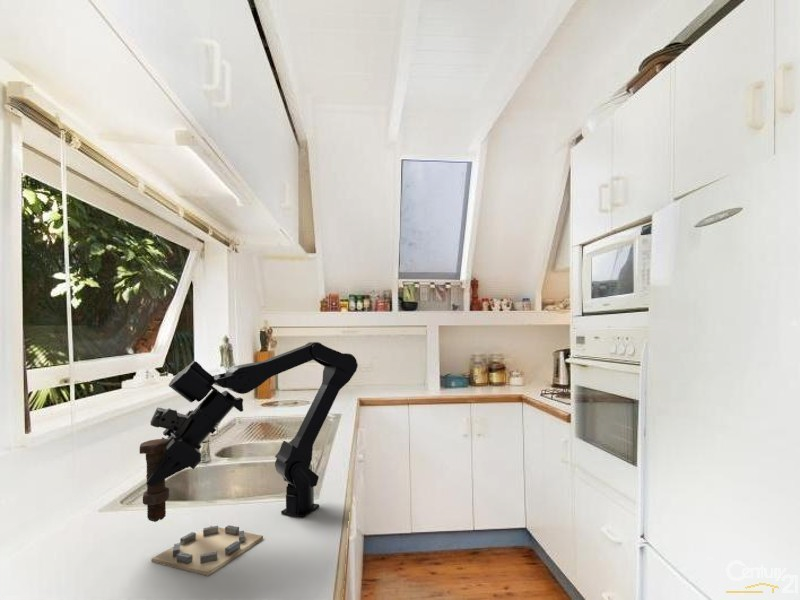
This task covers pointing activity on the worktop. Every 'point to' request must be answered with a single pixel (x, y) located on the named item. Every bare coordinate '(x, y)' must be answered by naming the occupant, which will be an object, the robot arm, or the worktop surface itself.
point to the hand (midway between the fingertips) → (148, 481)
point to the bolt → (157, 492)
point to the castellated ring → (210, 556)
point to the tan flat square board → (207, 551)
